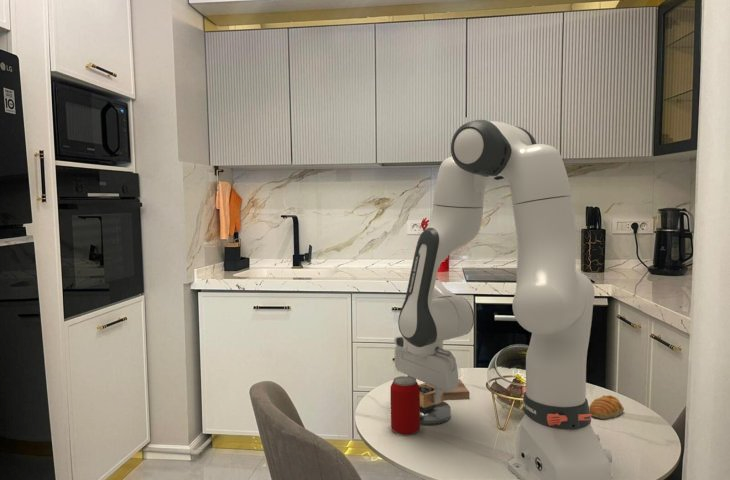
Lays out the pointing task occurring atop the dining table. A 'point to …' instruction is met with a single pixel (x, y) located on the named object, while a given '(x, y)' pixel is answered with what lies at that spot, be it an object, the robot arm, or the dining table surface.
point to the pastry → (606, 407)
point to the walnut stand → (457, 393)
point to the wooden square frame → (427, 396)
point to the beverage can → (405, 405)
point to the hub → (434, 412)
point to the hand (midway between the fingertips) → (425, 397)
